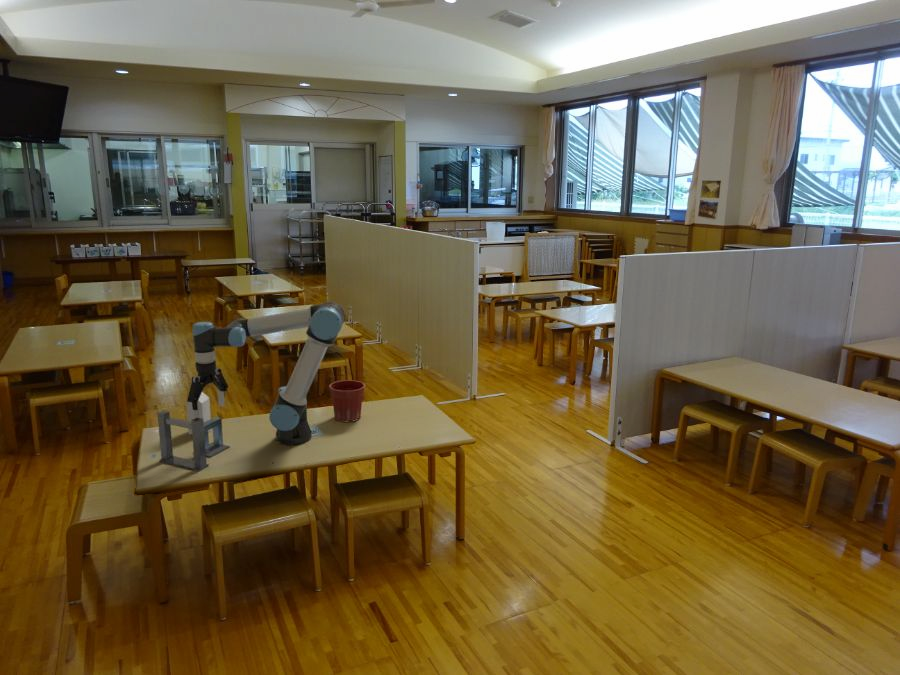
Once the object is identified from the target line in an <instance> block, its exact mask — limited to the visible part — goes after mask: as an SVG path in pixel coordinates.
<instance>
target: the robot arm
mask: <svg viewBox="0 0 900 675" xmlns="http://www.w3.org/2000/svg"><path fill="white" fill-rule="evenodd" d="M345 318H346V313H345V311H344V309H343V307H342V306H341V305H340V304H338V303H337V302H332V301H327V302H323V303H319V304H313V305H309V307H308V308H305V309H300V310H293V311H286V312H282V313H275V314H269V315H262V316H257V317H250V318H245V319H244V318H237V319H234V320H232V321H231V323H230V324H228V325H227V326H226V327H214V325H213V323H212V322H210V321H200V322H195V323H194V324H193V325H192V339H193V340H192V341H193V349H194V359H195V371H196V372H197V376H192V377H191V384H190V387H189V392H188V396H187V400H186V402H187V401H188V402H192V407H193V410H194V417H197V418H201V411H200V402H198V400H199V397H200V395H201V393H202V392H203V390H204V389H205V387H206V386H207V385H209V384H213V385H214V386H215V387H216V389H218V390H217V400H218V401H217V402H218V406H219V407H223V408H225V407H226V392H227V390H228V388H229V384H228V382H227V381H226V379H225V377H224V375H223V373H222V372H223V371H222V369H221V368H217V362H216V350H215V347H216V348H217V347H218V348H223V347H224V348H226V347H228V348H237V347H244V345H245V344H246V339H247V338H250V337H251V338H252V337H256V336H265V335H269V334H275V333H281V332H287V331H293V330H299V329H305V328H306V329H307V330H306V332H305V334H306V336H307V339H306V342H305V344H304V346H303V348H302V351H301V353H300V355H299V357H298V359H297V362H296V363H295V364H296V365H295V367H294V369H293V371H292V373H291V376H290V378H289V380H288V382H287V384H286V386H281V387H279V388H278V390H277V397H276V400H275V402H274V405H273V407H272V408H271V409H270V412H269V416H268V418H269V421H270V423H271V425H272V427H274V428H275V429H276V432H275V441H276V442H278V443H280V444H283V445H298V444H299V445H300V444H303V443H306V442H309V441H310V440H311V439H312V438H313V436H312V433H313V432H312V430H311V427H310V424H309V422H308V408H307V407H308V406H307V404H308V401H307V394H308V392H309V390H310V388H311V386H312V384H313V382H314V379H315V377H316V374H317V372H318V370H319V369H320V366H321V364H322V362H323V360H324V357H325V354H326V352H327V349H328V347H330V346H331V347H332V346H333V345H334V344H335V341H336V340H337V337H338V335H339V333H340V331H341V330H342V326H343V324H344V323H345V320H346V319H345ZM195 398H196V399H195Z"/></svg>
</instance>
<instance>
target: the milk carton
mask: <svg viewBox="0 0 900 675" xmlns="http://www.w3.org/2000/svg"><path fill="white" fill-rule="evenodd" d="M195 399H196V398H195ZM198 402H200V411H201V418H202V419H203V421H204V422H206V421H208V420H210V419H212V418H211V417H212V416H211V403H210V396H208V395H207V394H205V393H204V392H203V391H202V393H201V395H200V397H199V400H198ZM185 404H186V405H185V408H186V421H190V422H191V420H193V419H195V418H197V417H194V410H193V407H192V402H188V401H187V400H186V402H185ZM210 431H212V429H210V430H208V433H209V432H210ZM187 433H188V435H189V436H192V429H188V428H187Z"/></svg>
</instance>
